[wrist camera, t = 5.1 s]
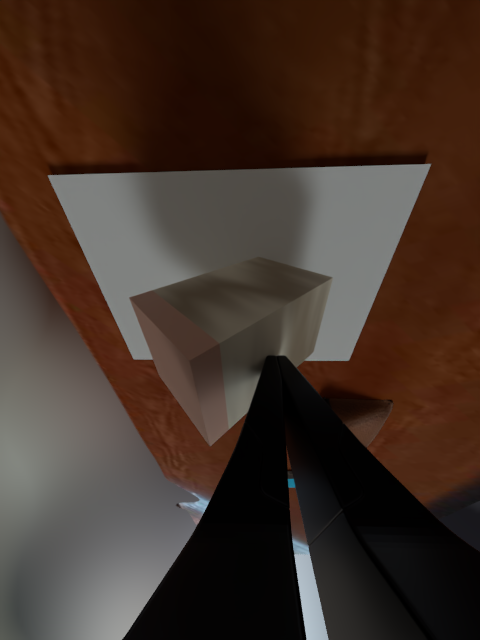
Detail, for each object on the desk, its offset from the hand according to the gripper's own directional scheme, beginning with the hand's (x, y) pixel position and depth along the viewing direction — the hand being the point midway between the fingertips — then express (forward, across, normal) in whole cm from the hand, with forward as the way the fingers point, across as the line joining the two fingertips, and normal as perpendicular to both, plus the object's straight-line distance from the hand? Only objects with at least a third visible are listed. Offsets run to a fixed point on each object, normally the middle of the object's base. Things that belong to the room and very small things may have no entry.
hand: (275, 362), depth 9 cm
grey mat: (+7, +2, 0) cm, 7 cm away
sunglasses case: (+8, -11, +22) cm, 26 cm away
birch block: (+5, -1, 0) cm, 5 cm away
